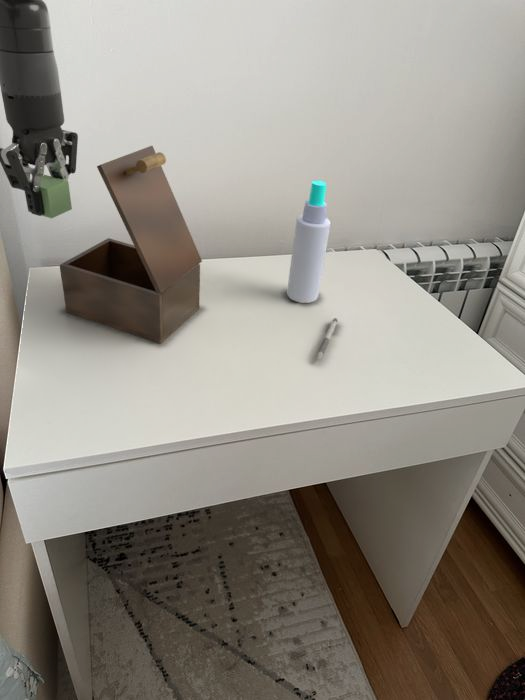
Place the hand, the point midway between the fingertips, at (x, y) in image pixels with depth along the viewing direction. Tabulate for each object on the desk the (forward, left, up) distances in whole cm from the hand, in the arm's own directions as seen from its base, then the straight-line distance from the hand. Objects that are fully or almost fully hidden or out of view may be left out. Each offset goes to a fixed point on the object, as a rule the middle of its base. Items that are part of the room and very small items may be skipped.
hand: (49, 208), depth 82 cm
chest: (+11, -5, -18) cm, 21 cm away
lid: (+13, -9, 0) cm, 16 cm away
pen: (+37, -27, -18) cm, 49 cm away
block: (0, 0, 0) cm, 0 cm away
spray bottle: (+42, -12, -18) cm, 47 cm away
